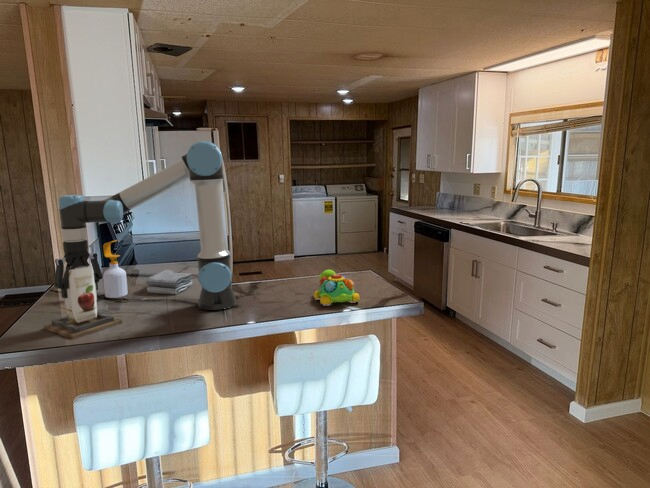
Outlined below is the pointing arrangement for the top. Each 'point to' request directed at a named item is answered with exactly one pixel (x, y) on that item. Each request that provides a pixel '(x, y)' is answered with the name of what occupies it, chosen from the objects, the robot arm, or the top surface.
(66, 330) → the base plate
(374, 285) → the top surface
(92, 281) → the juice carton
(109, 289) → the soap bottle
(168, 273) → the towel
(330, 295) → the turtle toy
